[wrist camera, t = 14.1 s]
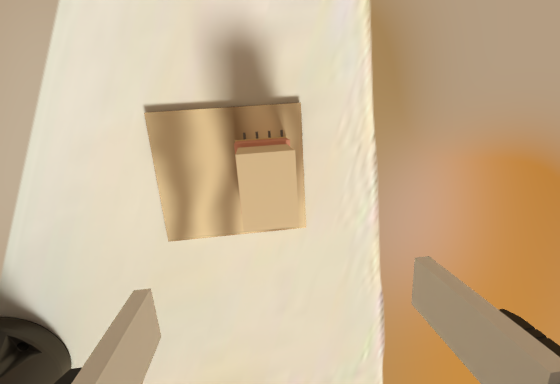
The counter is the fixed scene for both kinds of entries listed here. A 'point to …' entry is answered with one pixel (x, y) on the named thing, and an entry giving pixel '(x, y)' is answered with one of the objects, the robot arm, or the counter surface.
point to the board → (214, 164)
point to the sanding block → (267, 183)
